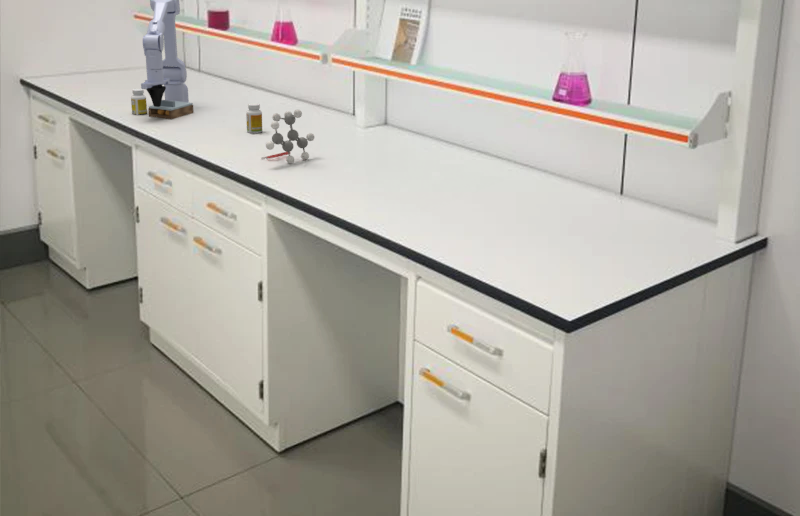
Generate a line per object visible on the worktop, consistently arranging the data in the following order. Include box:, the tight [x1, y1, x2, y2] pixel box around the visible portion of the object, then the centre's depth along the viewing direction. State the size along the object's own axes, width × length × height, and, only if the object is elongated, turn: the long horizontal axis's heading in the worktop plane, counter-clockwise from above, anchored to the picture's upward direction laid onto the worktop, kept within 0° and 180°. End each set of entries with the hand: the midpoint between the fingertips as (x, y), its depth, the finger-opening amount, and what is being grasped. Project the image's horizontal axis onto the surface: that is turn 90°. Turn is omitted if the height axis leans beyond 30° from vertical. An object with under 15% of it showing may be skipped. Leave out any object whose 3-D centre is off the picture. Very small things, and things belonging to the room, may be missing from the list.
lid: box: [148, 99, 194, 111], centre depth 333 cm, size 14×10×3 cm
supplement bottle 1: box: [130, 88, 148, 116], centre depth 333 cm, size 5×5×10 cm
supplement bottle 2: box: [245, 103, 263, 134], centre depth 313 cm, size 5×5×10 cm
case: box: [147, 104, 194, 120], centre depth 335 cm, size 14×10×4 cm
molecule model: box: [260, 109, 315, 165], centre depth 276 cm, size 20×16×16 cm
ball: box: [157, 109, 165, 115], centre depth 332 cm, size 3×3×3 cm
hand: (157, 106), depth 326 cm, fingers closed
